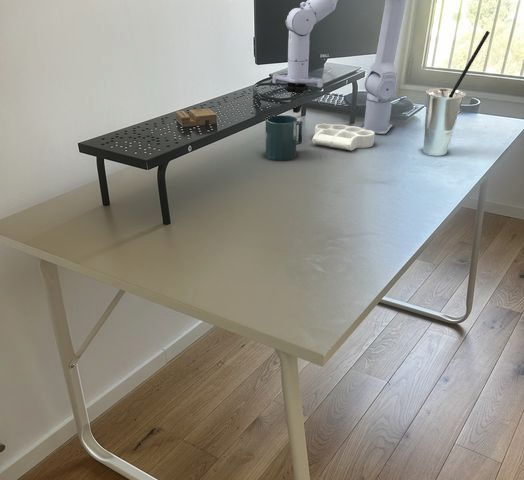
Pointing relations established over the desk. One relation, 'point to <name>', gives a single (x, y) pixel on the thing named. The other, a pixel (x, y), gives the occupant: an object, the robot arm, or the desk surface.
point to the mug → (282, 137)
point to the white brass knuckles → (343, 136)
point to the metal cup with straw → (444, 112)
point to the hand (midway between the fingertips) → (296, 111)
